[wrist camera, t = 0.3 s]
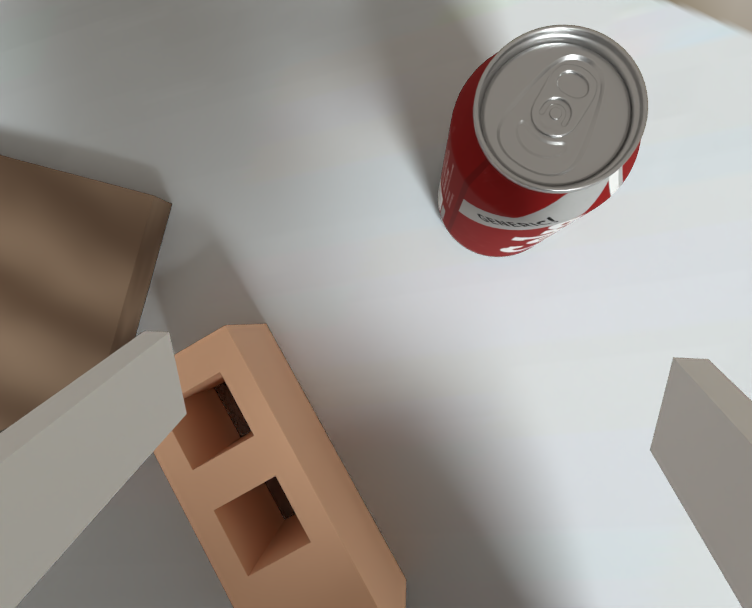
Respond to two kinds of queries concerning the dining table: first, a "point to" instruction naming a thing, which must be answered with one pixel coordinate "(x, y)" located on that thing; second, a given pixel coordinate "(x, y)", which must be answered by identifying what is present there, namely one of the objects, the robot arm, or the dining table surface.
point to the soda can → (540, 138)
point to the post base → (68, 277)
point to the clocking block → (250, 494)
